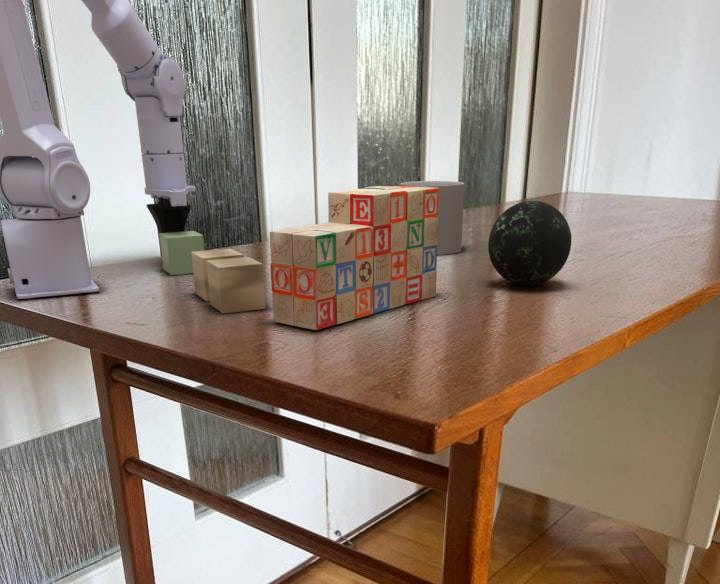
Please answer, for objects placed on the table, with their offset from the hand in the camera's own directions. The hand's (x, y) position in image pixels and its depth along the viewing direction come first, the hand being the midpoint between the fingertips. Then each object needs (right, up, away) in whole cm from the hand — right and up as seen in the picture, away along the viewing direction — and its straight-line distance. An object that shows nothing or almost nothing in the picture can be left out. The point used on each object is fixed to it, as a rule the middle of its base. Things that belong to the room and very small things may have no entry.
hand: (174, 254), depth 111 cm
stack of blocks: (+27, -14, -26) cm, 41 cm away
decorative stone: (+48, -9, -16) cm, 52 cm away
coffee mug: (+40, +4, +12) cm, 41 cm away
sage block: (+3, -4, -4) cm, 6 cm away
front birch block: (+13, -14, -25) cm, 31 cm away
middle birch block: (+10, -11, -19) cm, 24 cm away
